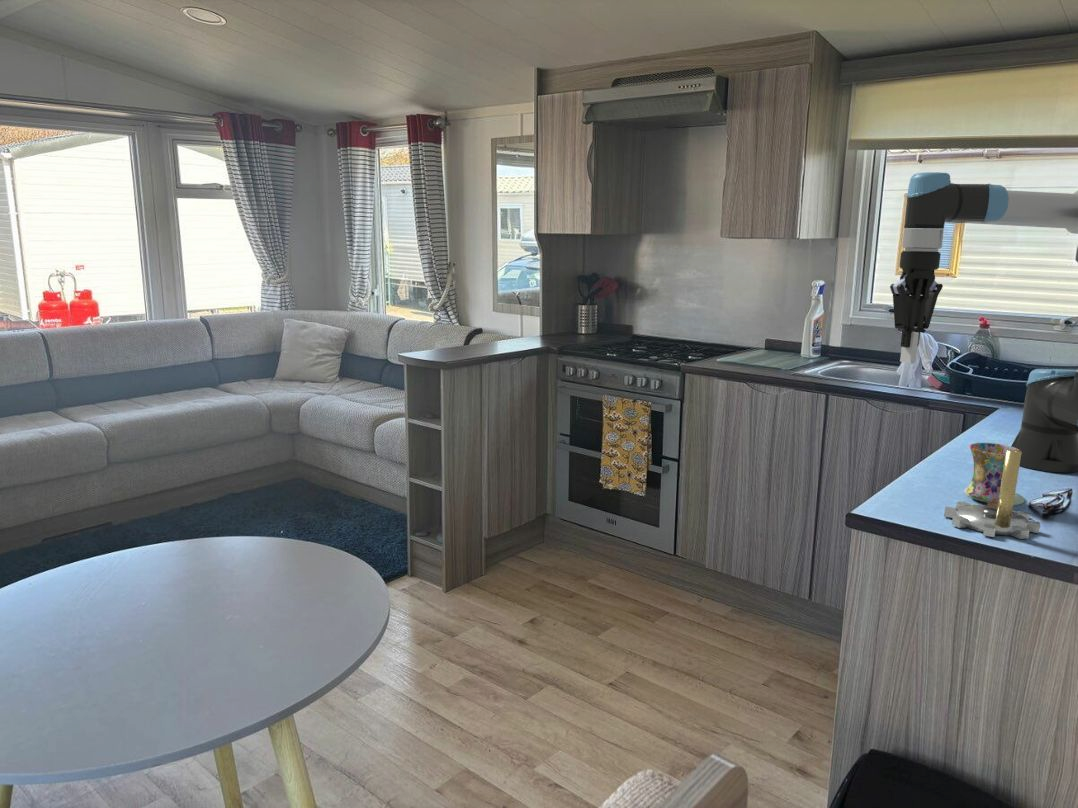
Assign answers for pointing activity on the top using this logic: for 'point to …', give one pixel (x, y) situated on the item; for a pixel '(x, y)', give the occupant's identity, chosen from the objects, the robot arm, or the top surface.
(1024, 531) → the sprocket
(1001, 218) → the robot arm
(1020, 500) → the pale green plate
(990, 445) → the mug
